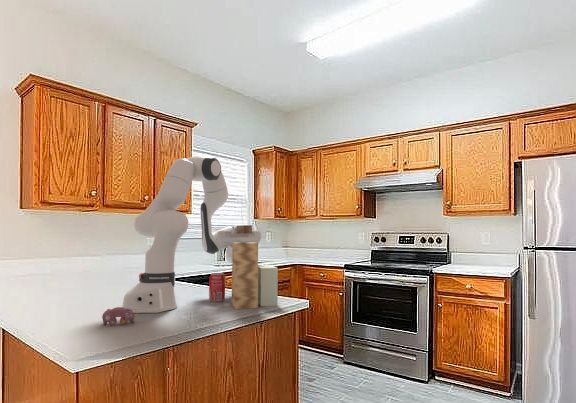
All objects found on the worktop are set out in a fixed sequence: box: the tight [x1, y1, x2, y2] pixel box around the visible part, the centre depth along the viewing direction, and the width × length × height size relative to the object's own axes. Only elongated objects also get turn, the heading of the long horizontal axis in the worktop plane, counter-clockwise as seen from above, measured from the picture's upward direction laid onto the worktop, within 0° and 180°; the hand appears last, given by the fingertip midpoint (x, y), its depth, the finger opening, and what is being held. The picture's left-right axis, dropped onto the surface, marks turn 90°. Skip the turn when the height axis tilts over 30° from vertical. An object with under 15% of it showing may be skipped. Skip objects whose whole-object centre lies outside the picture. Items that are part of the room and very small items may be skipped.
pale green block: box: [258, 264, 279, 307], centre depth 172 cm, size 7×16×16 cm, turn 15°
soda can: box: [208, 272, 226, 303], centre depth 175 cm, size 7×7×12 cm
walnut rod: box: [235, 224, 253, 234], centre depth 170 cm, size 3×22×3 cm, turn 15°
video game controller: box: [101, 306, 136, 326], centre depth 130 cm, size 10×5×7 cm, turn 107°
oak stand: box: [231, 242, 259, 310], centre depth 165 cm, size 9×12×26 cm
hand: (241, 228), depth 178 cm, fingers closed on walnut rod, 3 cm apart
